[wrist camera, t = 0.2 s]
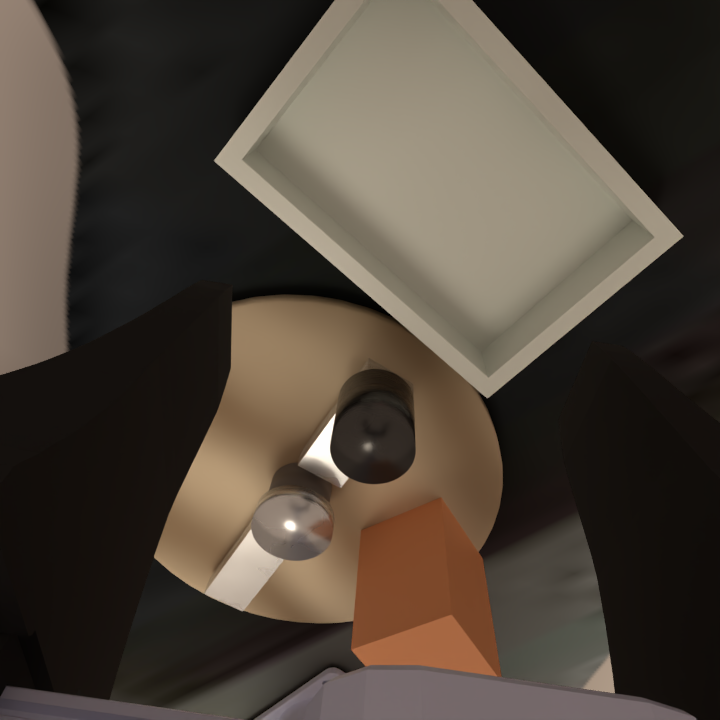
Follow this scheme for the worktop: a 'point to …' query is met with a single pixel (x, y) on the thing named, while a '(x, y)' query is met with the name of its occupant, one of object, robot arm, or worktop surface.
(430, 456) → the crank plate
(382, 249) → the tray
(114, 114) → the worktop surface
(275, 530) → the dark grey cylinder
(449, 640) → the block
